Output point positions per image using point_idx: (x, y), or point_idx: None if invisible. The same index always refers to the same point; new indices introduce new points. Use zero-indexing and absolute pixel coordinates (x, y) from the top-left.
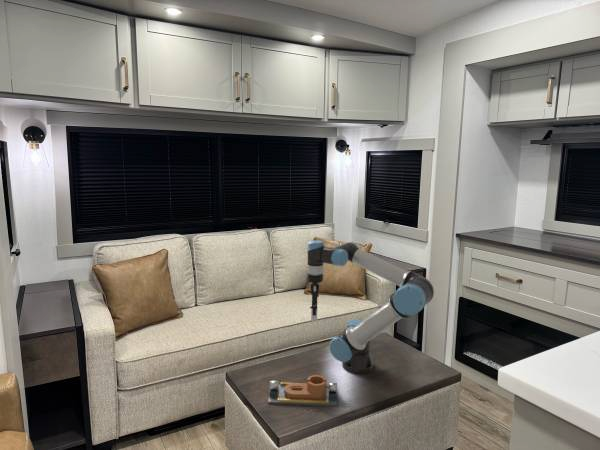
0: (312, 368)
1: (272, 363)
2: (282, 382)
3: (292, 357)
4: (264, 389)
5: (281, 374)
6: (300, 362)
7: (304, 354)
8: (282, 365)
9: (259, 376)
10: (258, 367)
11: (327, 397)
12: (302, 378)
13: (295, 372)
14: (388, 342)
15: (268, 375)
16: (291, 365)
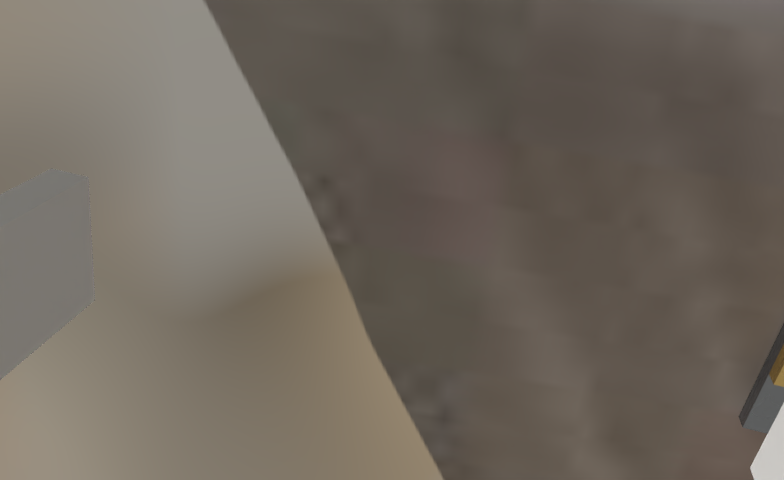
0: (537, 66)
1: (411, 360)
2: (779, 371)
3: (328, 205)
4: None
5: (586, 328)
6: (417, 155)
7: (278, 96)
8: (450, 299)
9: (582, 463)
10: (458, 450)
11: None
12: (691, 185)
13: (578, 223)
14: None
15: (581, 411)
16: (458, 235)
